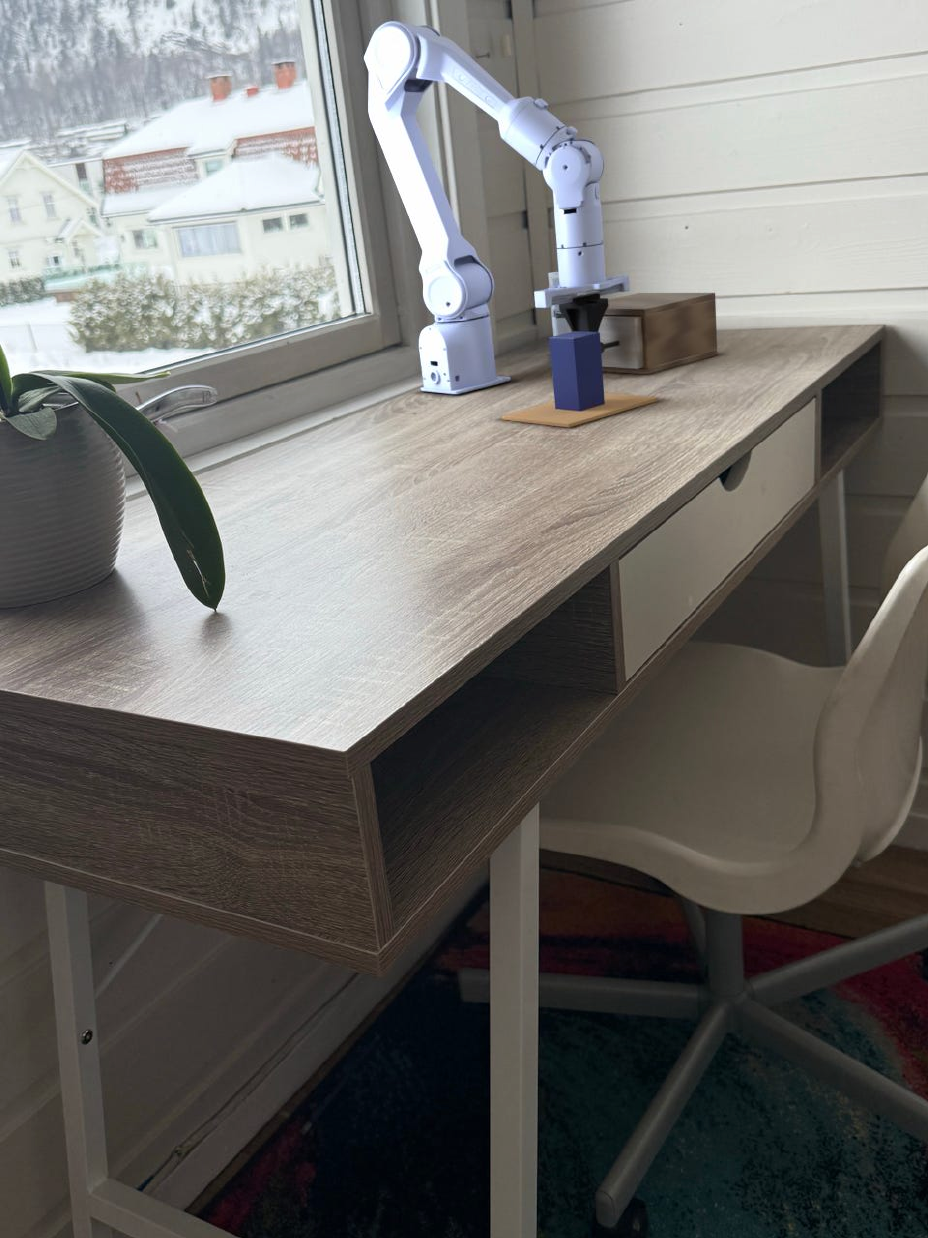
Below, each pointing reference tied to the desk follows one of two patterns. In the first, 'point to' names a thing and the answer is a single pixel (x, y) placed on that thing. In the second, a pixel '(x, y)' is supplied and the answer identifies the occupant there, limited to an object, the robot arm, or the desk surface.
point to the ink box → (557, 317)
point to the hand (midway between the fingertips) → (587, 358)
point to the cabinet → (670, 328)
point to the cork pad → (568, 418)
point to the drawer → (620, 341)
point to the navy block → (577, 370)
